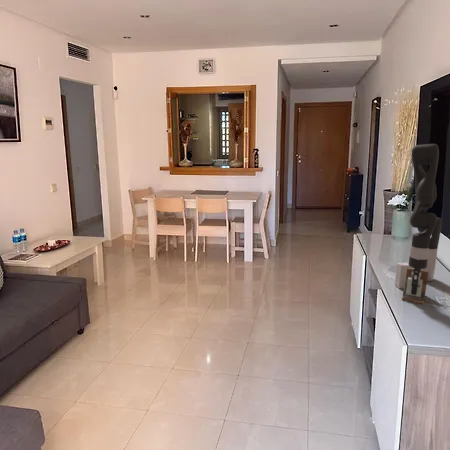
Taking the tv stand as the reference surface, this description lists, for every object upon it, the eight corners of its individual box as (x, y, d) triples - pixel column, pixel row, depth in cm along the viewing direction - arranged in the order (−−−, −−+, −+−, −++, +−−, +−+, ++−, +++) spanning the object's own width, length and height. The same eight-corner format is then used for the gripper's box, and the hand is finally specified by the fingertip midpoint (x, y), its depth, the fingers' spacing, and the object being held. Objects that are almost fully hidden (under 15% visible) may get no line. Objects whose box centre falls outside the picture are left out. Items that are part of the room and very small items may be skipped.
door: (406, 295, 188) (408, 277, 186) (420, 298, 186) (422, 279, 184) (405, 298, 185) (407, 279, 184) (419, 300, 183) (422, 281, 181)
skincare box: (405, 285, 205) (408, 262, 202) (410, 288, 200) (413, 265, 198) (394, 285, 204) (396, 262, 201) (398, 288, 200) (401, 265, 197)
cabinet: (404, 291, 197) (407, 267, 194) (425, 295, 192) (428, 270, 190) (401, 300, 186) (404, 274, 183) (423, 304, 182) (427, 278, 179)
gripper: (410, 251, 190) (406, 286, 194) (408, 259, 178) (403, 296, 181) (428, 253, 186) (424, 289, 190) (427, 261, 174) (422, 299, 178)
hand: (414, 292), depth 186 cm, fingers open, 4 cm apart
